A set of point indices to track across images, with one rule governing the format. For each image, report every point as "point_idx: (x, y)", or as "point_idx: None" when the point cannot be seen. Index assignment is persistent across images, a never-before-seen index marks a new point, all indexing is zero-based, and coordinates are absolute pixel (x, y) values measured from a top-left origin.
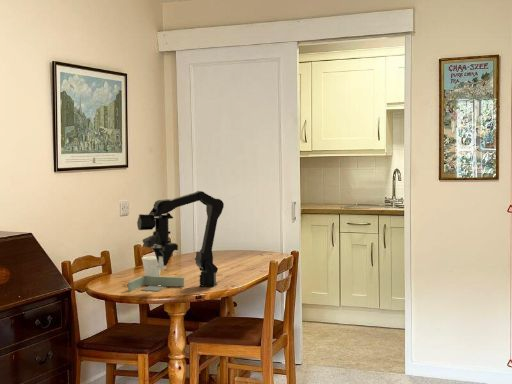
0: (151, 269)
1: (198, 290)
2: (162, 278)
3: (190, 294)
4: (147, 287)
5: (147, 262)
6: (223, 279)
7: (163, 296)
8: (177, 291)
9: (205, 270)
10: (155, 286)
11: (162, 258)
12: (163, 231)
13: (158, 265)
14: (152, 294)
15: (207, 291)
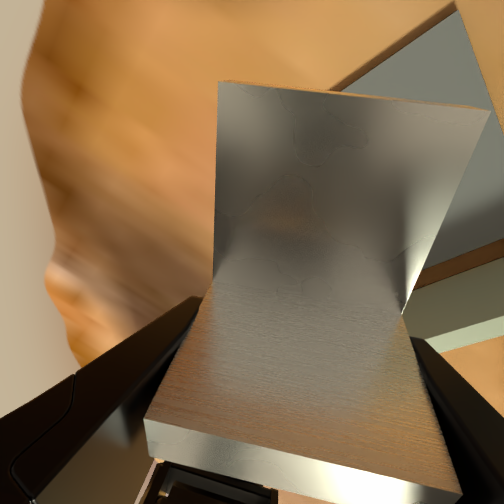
0: (321, 90)
1: (155, 319)
2: (461, 317)
3: (75, 230)
4: (482, 140)
5: None
6: (305, 498)
7: (85, 45)
8: (196, 231)
9: (217, 487)
10: (449, 217)
11: (207, 405)
12: None
13: (390, 308)
14: (206, 8)
15: (110, 328)
